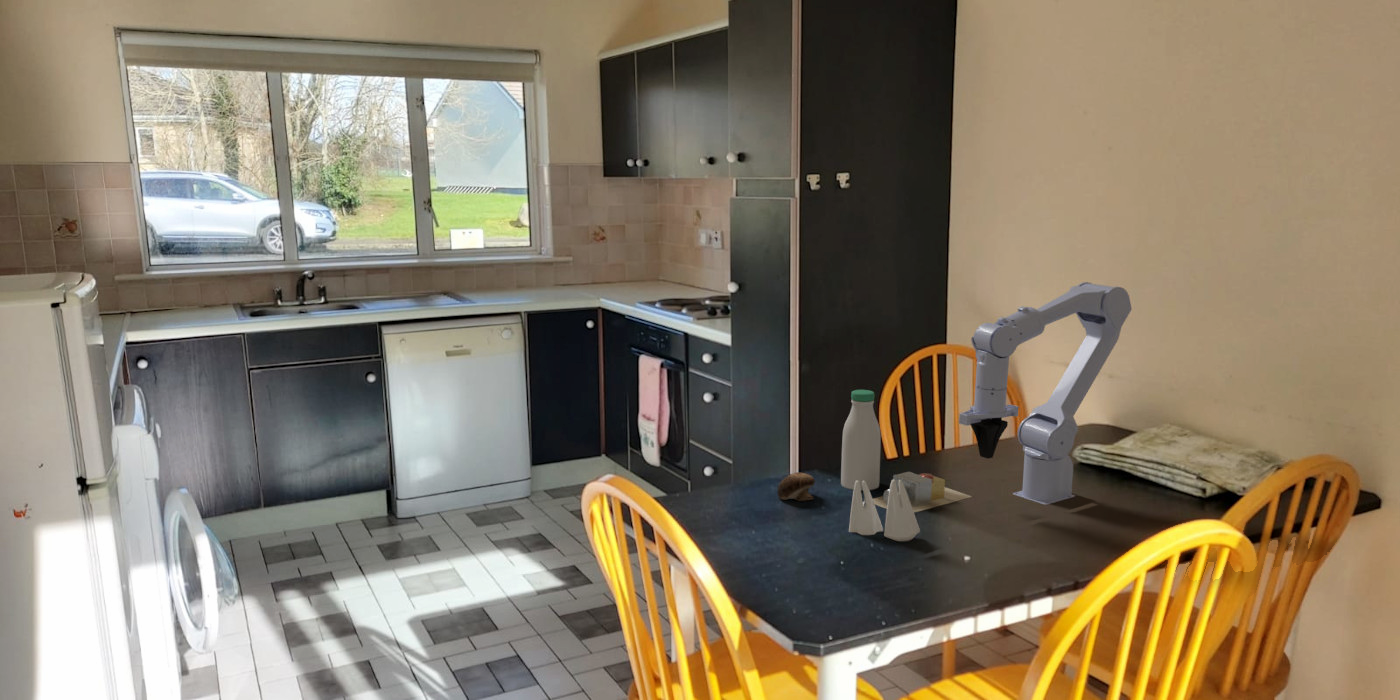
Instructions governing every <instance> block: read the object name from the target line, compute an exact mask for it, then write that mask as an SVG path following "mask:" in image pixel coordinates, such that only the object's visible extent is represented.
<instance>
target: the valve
mask: <svg viewBox="0 0 1400 700" xmlns="http://www.w3.org/2000/svg"><path fill="white" fill-rule="evenodd" d="M918 475H920V476H923V477H926V478H929V479H932V489H931V501H933V500H937V499H940V498H944V490H945V487H946V479H944V478H940V477H938V476H935V475H934V474H931V473H925V472H923V473H919V474H918Z"/></svg>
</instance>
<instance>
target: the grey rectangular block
mask: <svg viewBox="0 0 1400 700" xmlns="http://www.w3.org/2000/svg"><path fill="white" fill-rule="evenodd" d="M893 479H894V480H895V481H896V486H897V491H898V493H899V480H901V481H902V482H903V485H904V487H905V489H906V492H907V495H908V497H909V500H910V503H911V506H914V507H917V506H921V505H925V504H928V503H931V489H932V479H929V478H926V477H923V476H920V475H919V474H917V473H914V472H911V471H906V472H901V473H896V474H893V475H892V480H893ZM889 490H890V488H888V489H886V490H884V492H883V495H882V496H883V498H884V501H885V502H886V504H888V496H889Z"/></svg>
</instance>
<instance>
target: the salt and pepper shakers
mask: <svg viewBox="0 0 1400 700" xmlns="http://www.w3.org/2000/svg"><path fill="white" fill-rule="evenodd" d="M890 481H891V482H890V485H889V489H890V490H889V496H888V504H887V509H886V513H885V523H884V527H883V525H882V520H881V518H880V515H879V513H878V510H877V508H876V505H875V504H874V502H873V499H874V498H873V496H872V494H871V490H869V488H868V486H867V484H866V482H865V481H862V485H863V490H861V489H860V483H859V481H858V480H857V481H855V485H854V490H853V491H852V499H851V507H850V514H849V515H850V516H849V525H848V526H849V527H848V533H857V534H859V535H861V536H873V535H876V533H879V532H883V536H884V537H886V538H887V539H890V540H893V541H897V542H909V541H911V540H913V539H914V538H915V536H916V535H918V534H919V533H920V532H921V528H920V527H919V524H918V520H917V518H916V514H915V513H914V511H913V509H912V506H911V503H910V500H909V497H908V495H907V492H906V489H905V487H904V485H903V482H902V481H901V480H899V493H898V491H897V486H896V481H895V480H894V479H893V478H892V479H891V480H890ZM862 491H863V496H862Z"/></svg>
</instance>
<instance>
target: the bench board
mask: <svg viewBox="0 0 1400 700" xmlns="http://www.w3.org/2000/svg"><path fill="white" fill-rule="evenodd" d="M972 497H973V496H971V495H969V494H966V493H963V492H961V491H957V490H954V489H951V488H949V487H946V486H945V490H944V498H940V499H937V500H933V501H931V503H928V504H925V505H921V506H917V507H914V506H912V509H913V511H914V514H915V513H918V512H921V511H926V510H929V509H932V508H936V507H941V506H943V505H948V504H952V503H954V502H959V501H962V500H966V499H970V498H972ZM872 499H873V502H874V504H875V506H878V507H880V508H883V509H886V510H887V504H886V502H885V501H884V498H883V495H881V496H878V497H874V498H872Z"/></svg>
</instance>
